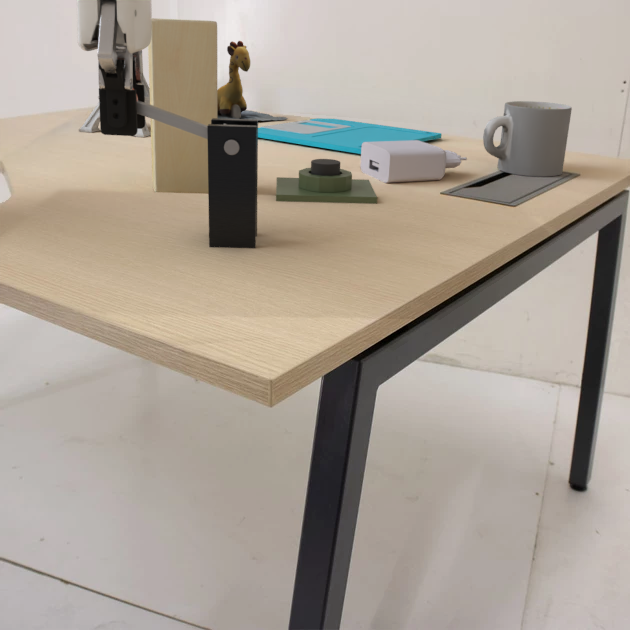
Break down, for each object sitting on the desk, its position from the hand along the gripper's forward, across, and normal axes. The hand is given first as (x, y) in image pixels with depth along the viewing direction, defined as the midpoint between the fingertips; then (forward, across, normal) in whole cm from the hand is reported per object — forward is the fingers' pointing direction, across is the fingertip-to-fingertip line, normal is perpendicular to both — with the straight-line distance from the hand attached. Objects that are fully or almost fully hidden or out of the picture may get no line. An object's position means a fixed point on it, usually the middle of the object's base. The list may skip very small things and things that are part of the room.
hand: (123, 129), depth 74 cm
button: (+8, -22, +20) cm, 31 cm away
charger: (+12, -42, +35) cm, 56 cm away
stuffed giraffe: (+13, -99, +4) cm, 100 cm away
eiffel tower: (+13, -78, -14) cm, 80 cm away
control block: (+12, -22, +20) cm, 32 cm away
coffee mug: (+11, -48, +52) cm, 72 cm away
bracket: (+12, 0, +10) cm, 16 cm away
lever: (+1, 0, +4) cm, 4 cm away
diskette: (+12, -75, +26) cm, 80 cm away
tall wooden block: (+12, -28, +2) cm, 31 cm away
